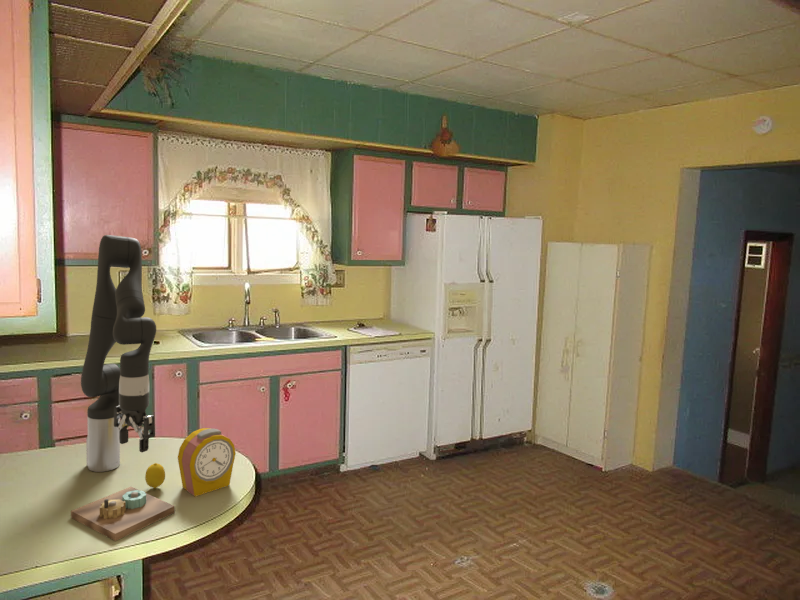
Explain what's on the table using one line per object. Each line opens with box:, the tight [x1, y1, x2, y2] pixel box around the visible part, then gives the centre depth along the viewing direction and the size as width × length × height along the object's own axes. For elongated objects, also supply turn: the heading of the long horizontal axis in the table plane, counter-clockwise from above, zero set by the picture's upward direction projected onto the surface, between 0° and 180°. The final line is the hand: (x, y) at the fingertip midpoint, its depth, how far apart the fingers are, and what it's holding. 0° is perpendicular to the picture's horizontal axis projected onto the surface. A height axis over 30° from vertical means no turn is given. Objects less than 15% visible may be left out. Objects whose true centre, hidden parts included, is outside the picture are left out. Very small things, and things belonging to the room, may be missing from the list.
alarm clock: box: [177, 427, 236, 497], centre depth 180 cm, size 15×8×18 cm, turn 137°
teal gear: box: [122, 489, 147, 509], centre depth 164 cm, size 6×6×2 cm
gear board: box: [70, 486, 176, 542], centre depth 161 cm, size 19×18×6 cm
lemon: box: [144, 462, 166, 489], centre depth 177 cm, size 6×6×8 cm
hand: (133, 447), depth 162 cm, fingers open, 8 cm apart
